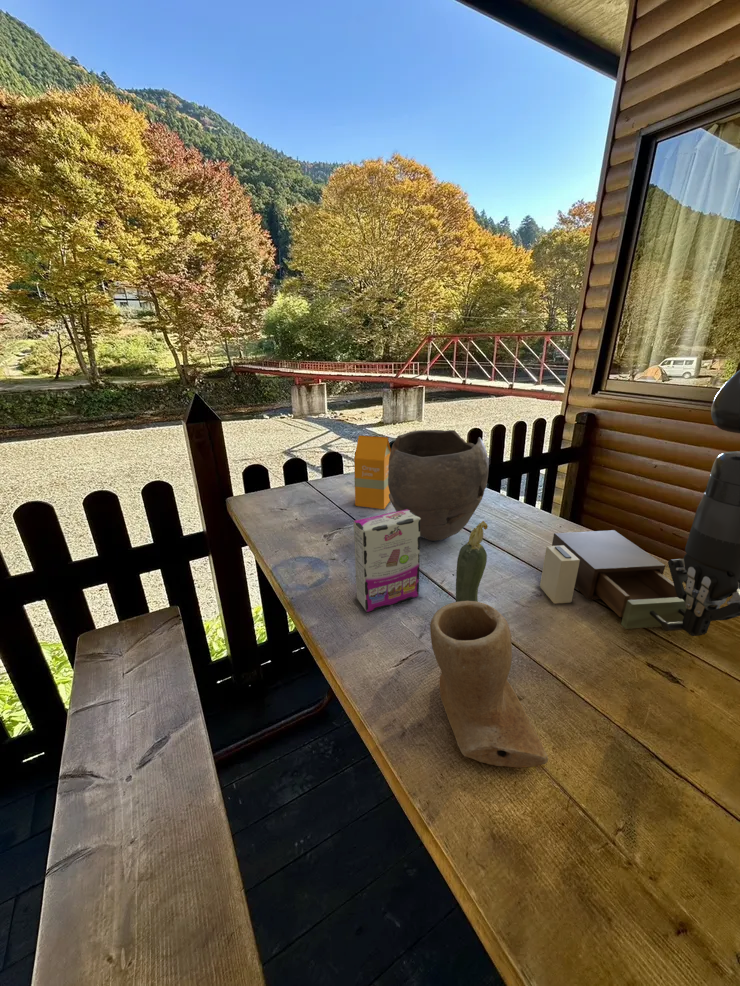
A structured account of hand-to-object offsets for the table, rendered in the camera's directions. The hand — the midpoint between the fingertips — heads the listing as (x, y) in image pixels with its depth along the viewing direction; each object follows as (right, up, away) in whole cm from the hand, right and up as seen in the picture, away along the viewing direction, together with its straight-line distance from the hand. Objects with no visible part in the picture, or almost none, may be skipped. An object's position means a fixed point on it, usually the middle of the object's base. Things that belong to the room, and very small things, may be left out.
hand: (692, 632), depth 62 cm
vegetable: (-33, -2, +7) cm, 34 cm away
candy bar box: (-46, +1, +15) cm, 48 cm away
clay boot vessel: (-35, -8, -9) cm, 37 cm away
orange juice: (-48, +18, +59) cm, 78 cm away
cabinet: (-2, +4, +22) cm, 22 cm away
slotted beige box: (-14, +2, +16) cm, 21 cm away
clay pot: (-34, +10, +39) cm, 52 cm away
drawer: (-1, +1, +10) cm, 10 cm away
